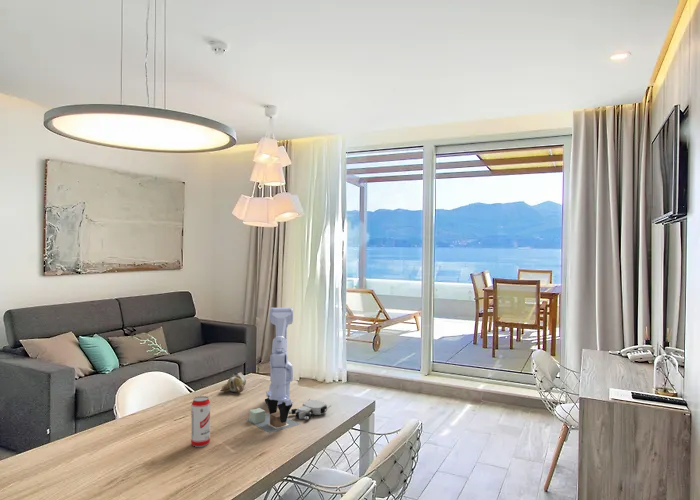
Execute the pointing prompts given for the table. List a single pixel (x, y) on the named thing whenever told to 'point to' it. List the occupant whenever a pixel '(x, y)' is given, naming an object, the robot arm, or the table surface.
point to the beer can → (200, 421)
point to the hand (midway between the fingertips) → (278, 419)
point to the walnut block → (276, 420)
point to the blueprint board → (269, 428)
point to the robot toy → (310, 409)
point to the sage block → (257, 415)
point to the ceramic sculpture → (235, 383)
